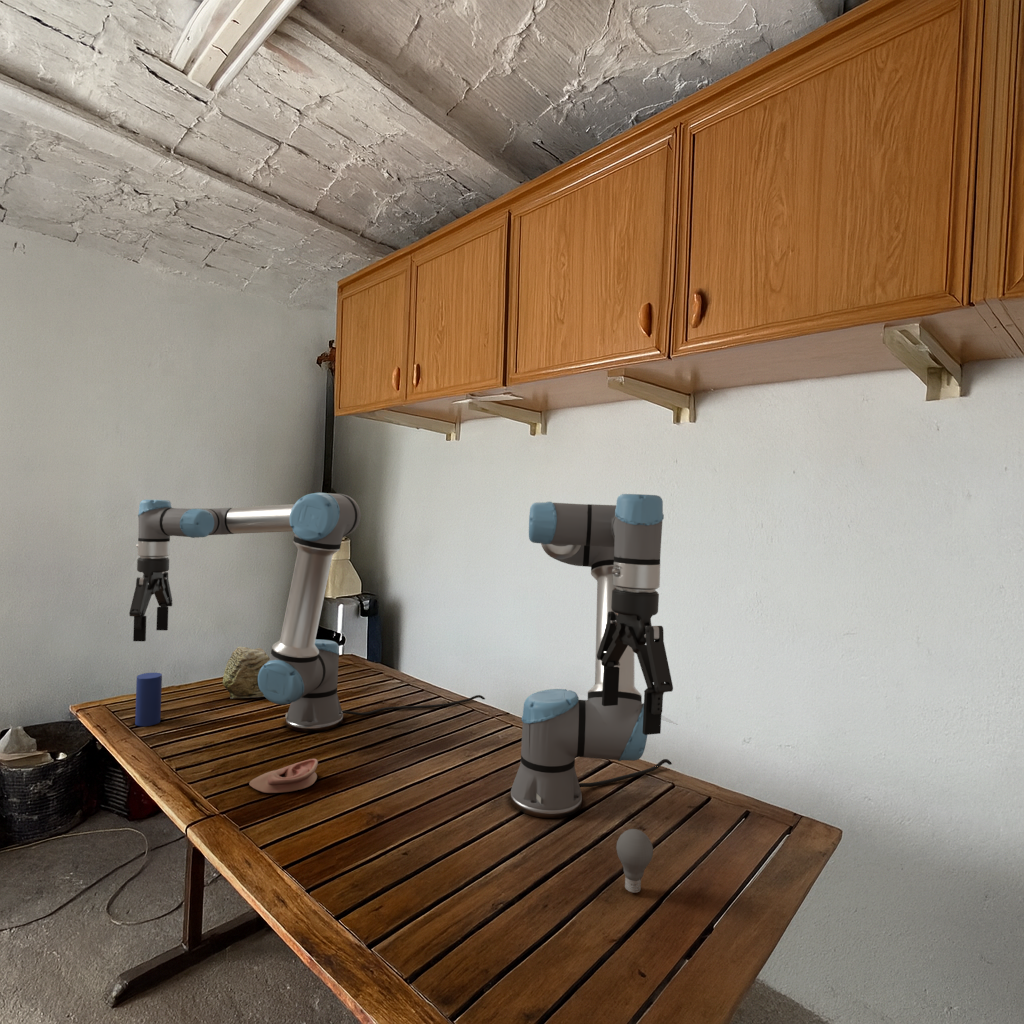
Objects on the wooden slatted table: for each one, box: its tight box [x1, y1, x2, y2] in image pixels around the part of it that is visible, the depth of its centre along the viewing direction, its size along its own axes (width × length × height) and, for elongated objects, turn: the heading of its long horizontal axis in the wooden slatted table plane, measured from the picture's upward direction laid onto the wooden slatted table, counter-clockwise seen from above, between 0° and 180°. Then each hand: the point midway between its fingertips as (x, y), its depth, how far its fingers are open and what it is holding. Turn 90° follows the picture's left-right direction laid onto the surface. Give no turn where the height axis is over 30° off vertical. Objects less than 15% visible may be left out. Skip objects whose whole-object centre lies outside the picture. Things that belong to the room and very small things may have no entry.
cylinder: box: [134, 672, 163, 727], centre depth 171 cm, size 6×6×13 cm
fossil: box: [222, 646, 270, 699], centre depth 198 cm, size 9×18×15 cm, turn 132°
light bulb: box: [615, 828, 654, 894], centre depth 106 cm, size 6×6×10 cm
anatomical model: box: [248, 758, 319, 794], centre depth 139 cm, size 13×4×12 cm
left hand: (151, 635), depth 171 cm, fingers open, 13 cm apart
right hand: (629, 718), depth 103 cm, fingers open, 13 cm apart
